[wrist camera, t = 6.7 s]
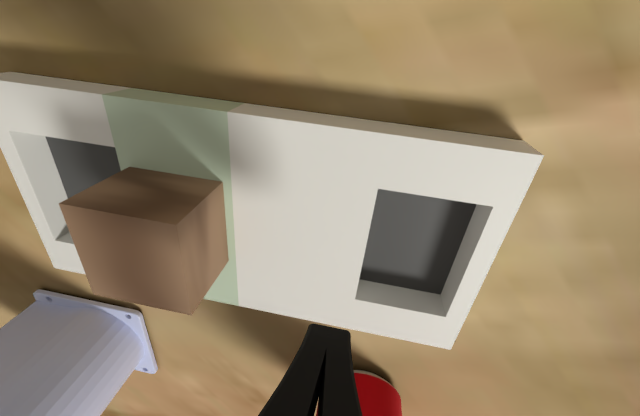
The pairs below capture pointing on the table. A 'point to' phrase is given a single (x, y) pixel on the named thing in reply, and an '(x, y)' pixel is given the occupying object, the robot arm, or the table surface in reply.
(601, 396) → the table surface
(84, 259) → the block
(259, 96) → the table surface
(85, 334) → the robot arm
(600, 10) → the table surface
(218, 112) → the trap board
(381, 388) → the beverage can
